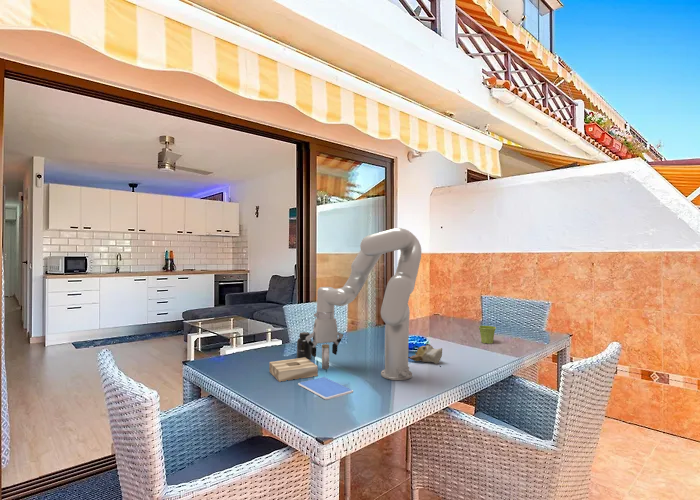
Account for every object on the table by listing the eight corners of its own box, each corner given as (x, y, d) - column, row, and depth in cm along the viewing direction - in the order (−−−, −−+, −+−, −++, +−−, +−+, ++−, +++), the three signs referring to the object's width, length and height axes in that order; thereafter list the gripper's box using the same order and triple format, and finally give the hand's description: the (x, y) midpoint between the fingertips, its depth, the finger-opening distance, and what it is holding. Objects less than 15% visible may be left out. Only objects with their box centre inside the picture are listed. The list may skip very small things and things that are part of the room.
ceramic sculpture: (438, 347, 170) (406, 344, 177) (439, 367, 169) (407, 363, 177) (445, 342, 179) (415, 340, 186) (446, 361, 179) (415, 358, 186)
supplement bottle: (297, 361, 177) (298, 335, 177) (295, 357, 184) (296, 331, 184) (312, 360, 179) (312, 334, 179) (310, 356, 186) (310, 331, 186)
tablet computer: (297, 385, 147) (297, 382, 147) (324, 379, 154) (324, 375, 154) (325, 401, 131) (325, 398, 131) (354, 393, 139) (354, 390, 139)
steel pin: (330, 368, 166) (330, 345, 166) (323, 369, 165) (323, 346, 165) (327, 366, 169) (327, 343, 169) (320, 367, 168) (320, 344, 168)
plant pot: (474, 341, 219) (474, 325, 219) (488, 340, 222) (488, 325, 222) (485, 345, 210) (485, 329, 210) (499, 344, 213) (499, 328, 213)
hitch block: (317, 375, 157) (317, 366, 157) (279, 381, 149) (279, 371, 149) (305, 366, 169) (305, 357, 169) (269, 371, 162) (269, 362, 162)
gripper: (309, 318, 160) (308, 359, 160) (347, 315, 168) (345, 355, 168) (303, 315, 166) (302, 354, 167) (339, 313, 174) (338, 350, 175)
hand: (324, 354), depth 167 cm, fingers open, 9 cm apart
